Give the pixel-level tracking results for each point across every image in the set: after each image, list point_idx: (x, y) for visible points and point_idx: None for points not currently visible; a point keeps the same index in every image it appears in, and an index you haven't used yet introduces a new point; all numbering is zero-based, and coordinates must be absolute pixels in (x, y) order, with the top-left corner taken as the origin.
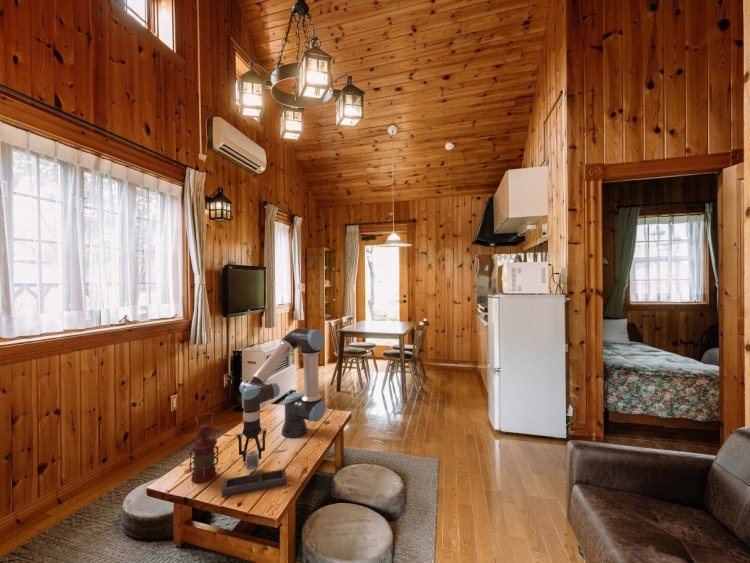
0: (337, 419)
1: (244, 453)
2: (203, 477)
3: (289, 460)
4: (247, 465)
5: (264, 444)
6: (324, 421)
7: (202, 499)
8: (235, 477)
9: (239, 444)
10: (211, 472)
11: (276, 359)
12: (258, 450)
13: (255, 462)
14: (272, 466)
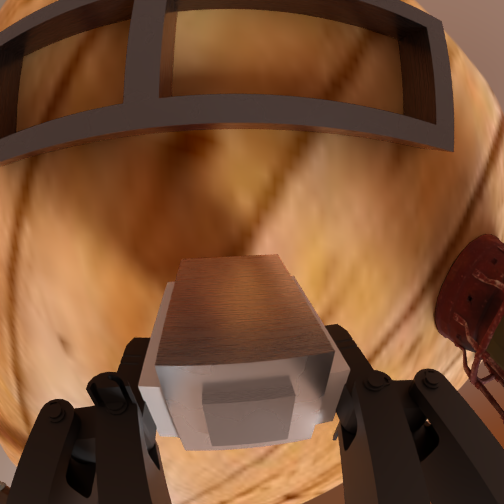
0: None
1: (380, 395)
2: (502, 247)
3: (20, 335)
4: (289, 277)
5: (20, 480)
6: None
7: (481, 81)
8: (388, 134)
9: None
10: (484, 275)
11: None
12: (133, 430)
13: (193, 292)
14: (88, 308)
